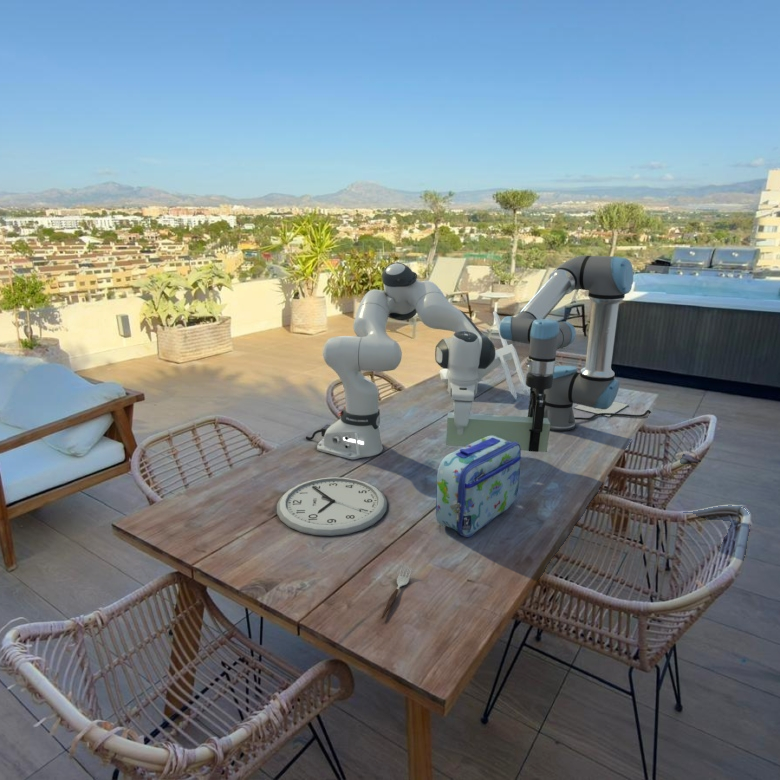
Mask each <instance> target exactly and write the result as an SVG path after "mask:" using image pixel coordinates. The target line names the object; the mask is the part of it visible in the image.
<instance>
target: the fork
mask: <svg viewBox="0 0 780 780" xmlns="http://www.w3.org/2000/svg"><path fill="white" fill-rule="evenodd" d="M403 567H404V568H403ZM406 567H407V565H405V566H404V564H402V565H401V568H400V571H399V573H398V576H397V578H396V584H397V587H396V589H394V591H393V592H392V593H391V595H390V597H389V599H387V603H386V605H385V608H384V610H383V613H382V616H381V619H384V617H385V616H386V614H387V613H388V611H389V610H390V608H391V607H392V606H393V604H394V603H395V601H396V598H397V595H398V593H399V590H400V588H401V587H403V586H406V585H408V584H409V582H410V578H411V574H412V570H413V567H411V568H410V566H408V567H407V570H406ZM409 568H410V571H409ZM408 573H409V574H408Z"/></svg>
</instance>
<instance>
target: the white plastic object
mask: <svg viewBox="0 0 780 780" xmlns="http://www.w3.org/2000/svg"><path fill="white" fill-rule="evenodd" d="M492 315H493V319H494V321H495V324H496V325H495V326H496V328H497V332H498V335H499V338H500V342H501V345H502V347H500V348H498V349H495V359H494V360H493V362H492V363H491V364H490V365H489V366H488V367H487V368H486V369H478V370H477V373H478V383H480V382H482V381H484V378H485V377H486V376H487V375H489V374H490V373H492V372H494V371H495V370H496V369H497V368H499V367H500V366H502V370H503V373H504V376H505V380H506V383H507V386H508V390H509V393H510V394H511V395H512V397H513V398H514V399H515V400H517V392H516V391H517V390H516V388H515V385H514V381H513V378H512V375H511V371H510V369H509V365H508V361H510V360H513V363H514V366H515V369H516V372H517V376H518V380H519V382H520V385H521V389H522V391H523V393H524V395H525V396H526V397H528V396H529V397H530V389H529V387H528V386H527V385H526V377H525V375H524V371H523V369H522V368H523V367H522V366H521V362H520V359H519V355H518V352H517V349H516V347H515V346H514V345H513V343H511V344H508V340H506V339H503V338H502V337H501V335H500V324H501V321H502V320H501V318H500V315H499V314H498V312H497V311H496V310H495V311H492ZM438 372H439V376H440V381H442V383H443V384H444V385H445V386H448V375H449V369H444V368H442V369H440V370H439V371H438Z"/></svg>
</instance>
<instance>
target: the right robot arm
mask: <svg viewBox="0 0 780 780" xmlns="http://www.w3.org/2000/svg"><path fill="white" fill-rule="evenodd" d="M633 284H634V268H633V264H632V263H631V261H630V259H628V258H627V257H620V256H613V255H612V256H610V255H609V256H608V255H579V256H576V257H575V256H574V257H572V258H571V259H568V260H566V261H564V262H563V263H561V264H559V265H558V266H557V267H556V268H555V269H553V270H552V272H551V273H550V274H549V276H548V281H546V282H545V284H544V285H542V287H541V288H540V289H539V290H538V292H537V293H536V294H534V296H533V297H532V298H531V299H530V300H529V301H528V302H527V304H526V305H525V306H524V307H522V309H521V310H520V311H519V312H518V313H517V315H515V316H513V315H511V316H510V315H509V316H508V315H507V316H504V317H503V318H502V319H501V320H500V321H501V324H500V335H501V337H502V338H503V339H506V340H507V341H509V342H513V343H521V344H522V343H523V344H529V348H528V349H529V350H528V351H529V352H528V360H527V361H525V365H526V366H527V369H526V371H527V373H526V377H525V381H526V385H527V387H528V388H529V394H530V395H529V400H528V410H527V411H528V412H527V416H526V417H533V419H532V429H529V431H531V433H530V442H529V451H528V452H533V453H539V452H538V449H539V441H540V432H542V428H543V419H544V418H548V420H549V422H550V430H549V431H556V432H567V431H572V430H574V429H575V428H576V420H581V421H590V420H593V419H595V418H596V417H598V416H604V415H611V416H618V417H629V418H631V417H632V418H642V417H645V416H646V415H647V414H648V413H649V414H651V413H652V412H651V410H650V409H647V410H645V412H644V413H643V414H630V413H598V414H596V413H594V414H593V415H592V416H590V417H580V416H579V417H577V416H575V413H574V407H573V405H574V404H576V405H584V406H588V407H592V408H595V409H596V408H598V409H603V410H605V409H608V408H609V407H610V406H611V405H612V403H613V402H615V400H616V398H617V395H618V392H619V389H620V380H618V379H617V378H615V371H614V370H612V361H613V353H614V345H615V336H616V329H617V321H618V313H619V307H620V302H621V301H623V300H624V299H625V296H626V295H627V294H630V292H631V290H632V288H633ZM575 290H583V291H588V295H587V298H589V299H590V301H591V309H590V319H589V330H588V336H587V337H588V338H587V346H586V347H587V348H586V356H585V357H586V358H585V365H584V367H583V368H581V369H580V371H579V372H578V368H577V366H572V365H556V357H557V350H559V349H563V348H567V347H568V346H569V345H571V344H572V343H574V341H575V340H576V337H577V331H576V329H575V326H574V325H573V324H572V323H570V322H569V321H558V320H555V319H551V318H547V317H548V316H549V315H550V313H551V312H552V311H554V309H555V308H556V306H558V304H559V303H560V302H561V300H563V298H564V297H565V296H567V295H569V294H571V293H572V292H573V291H575ZM500 335H499V336H500Z"/></svg>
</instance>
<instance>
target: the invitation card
mask: <svg viewBox="0 0 780 780" xmlns="http://www.w3.org/2000/svg"><path fill="white" fill-rule="evenodd" d="M628 406H629V404H627V403H623V402H618V401H614V402H613V403H612V405H611V406H610V407H609V408H608V409H605V410H603V409H598V408H596V409H595V408H592V407H588V406H584V405H580V404H577V405H575V406H574V407H573V409H575V410H581V411H584V412H587V413H593V414H598V413H615V414H617V413H618V412H619V411H621V410H623V409H624V408H626V407H628ZM603 416H604V417H608V418H609V417H611V416H612V415H603Z"/></svg>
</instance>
